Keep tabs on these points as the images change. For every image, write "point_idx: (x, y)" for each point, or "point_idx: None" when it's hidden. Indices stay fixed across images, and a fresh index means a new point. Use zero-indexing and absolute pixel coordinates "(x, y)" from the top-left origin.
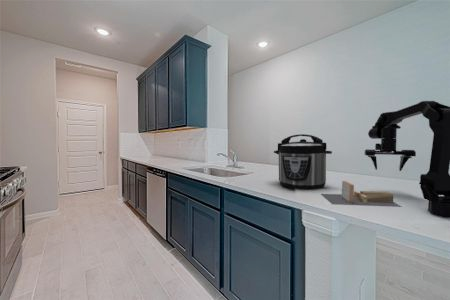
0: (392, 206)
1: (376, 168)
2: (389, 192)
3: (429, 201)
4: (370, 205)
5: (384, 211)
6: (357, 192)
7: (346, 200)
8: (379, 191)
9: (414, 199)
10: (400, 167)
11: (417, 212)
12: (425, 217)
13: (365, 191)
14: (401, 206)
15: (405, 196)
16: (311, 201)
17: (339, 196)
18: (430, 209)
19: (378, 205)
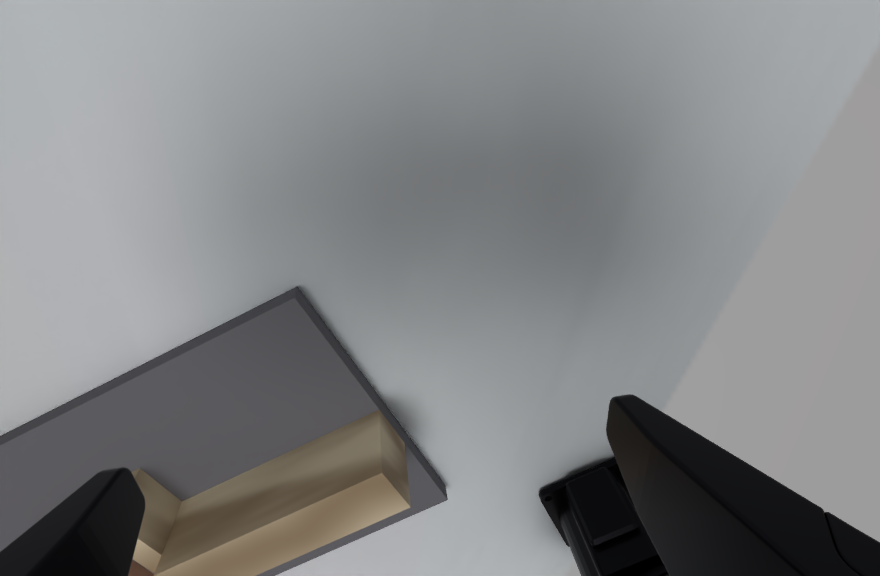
0: (393, 522)
1: (125, 547)
2: (383, 497)
3: (591, 557)
4: (274, 572)
5: (350, 565)
6: (136, 552)
7: None
8: (304, 510)
9: (606, 164)
10: (647, 532)
11: (511, 492)
12: (523, 538)
13: (198, 568)
14: (443, 496)
15: (560, 65)
16: None
17: (12, 518)
18: (567, 540)
19: (317, 551)
